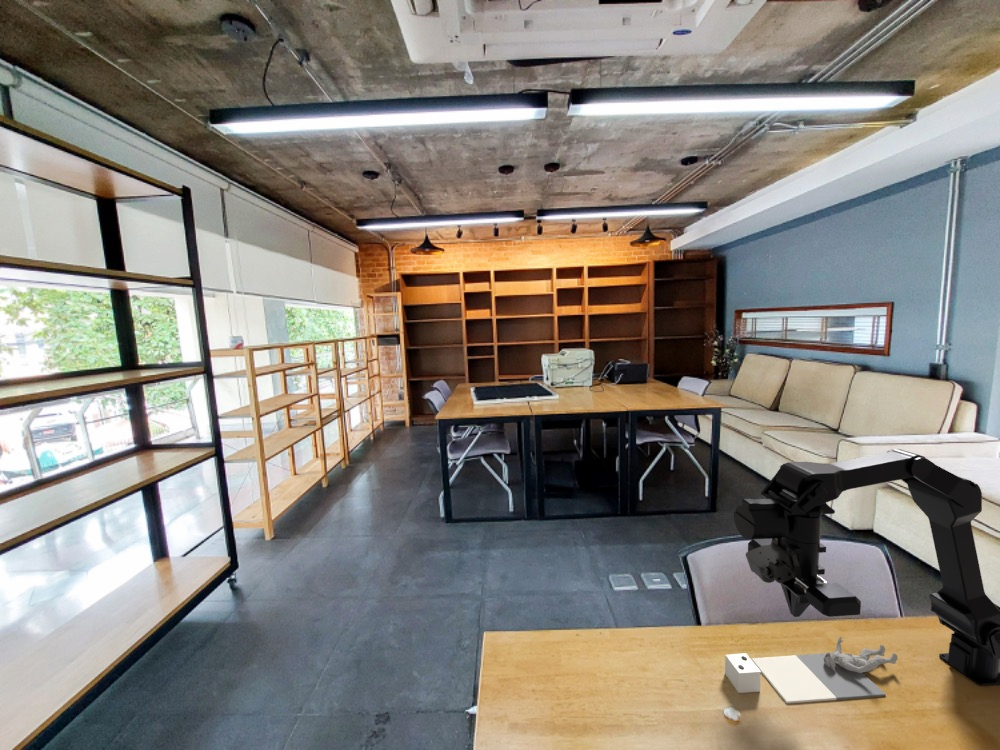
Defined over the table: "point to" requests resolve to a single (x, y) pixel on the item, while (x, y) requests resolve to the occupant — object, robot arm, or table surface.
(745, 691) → the die
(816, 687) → the board
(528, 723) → the table surface
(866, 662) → the soldier figure
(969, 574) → the robot arm
